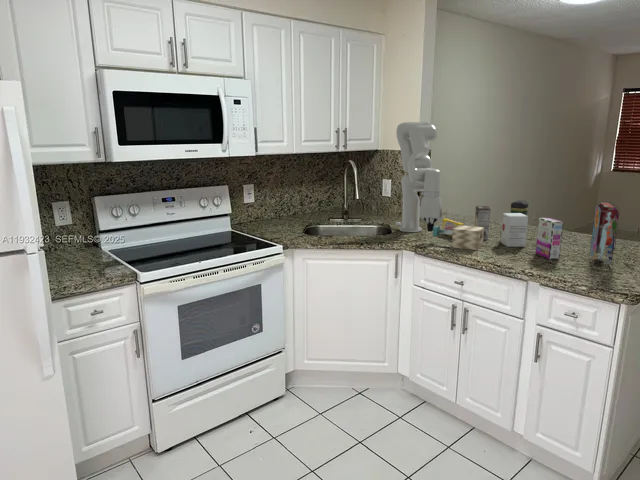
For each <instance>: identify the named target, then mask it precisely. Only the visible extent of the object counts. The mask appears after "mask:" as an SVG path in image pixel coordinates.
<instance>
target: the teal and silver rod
mask: <svg viewBox="0 0 640 480" xmlns="http://www.w3.org/2000/svg"><path fill="white" fill-rule="evenodd" d="M440 234H442V235H447V234H450V235H453V231H451V230H443V229H441V226H440V225H434V227H433V231H432V237H439V235H440ZM450 235H449V236H450Z"/></svg>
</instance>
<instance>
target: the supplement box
mask: <svg viewBox="0 0 640 480" xmlns="http://www.w3.org/2000/svg"><path fill="white" fill-rule="evenodd" d="M528 221H529V216H528V215H527V216H526V215H524V214H522V213H510V212H505V213H504V212H503V213H502V221H501V223H502V224H501V225H502V226H501V236H500V238H501V239H500V243H501V244H503V245H504V246H506V247H507V248H512V247H513V248H517V247H518V248H519V247H520V248H521V247H523V248H524V247H526V244H527V234H528Z"/></svg>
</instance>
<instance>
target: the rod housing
mask: <svg viewBox="0 0 640 480" xmlns="http://www.w3.org/2000/svg"><path fill="white" fill-rule="evenodd" d="M483 235H484V227H475V225H474V226H473V225H472V226H471V225H464V226H463V225H458V226H457V227H455V228H453V235H452V236H451V238H452V239H451V248H455V249H456V248H457V249H466V250H474V251H478V250H480V248H483V246H484V240H483Z"/></svg>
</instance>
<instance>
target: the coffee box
mask: <svg viewBox="0 0 640 480" xmlns="http://www.w3.org/2000/svg"><path fill="white" fill-rule="evenodd" d="M474 215H475V216H474V227H484V235H483V241H484V240H487V241H488V240H489V236H490V234H489V233H490V221H491V220H490V219H491V208H490V207H489V206H488V205H475V214H474Z"/></svg>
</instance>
